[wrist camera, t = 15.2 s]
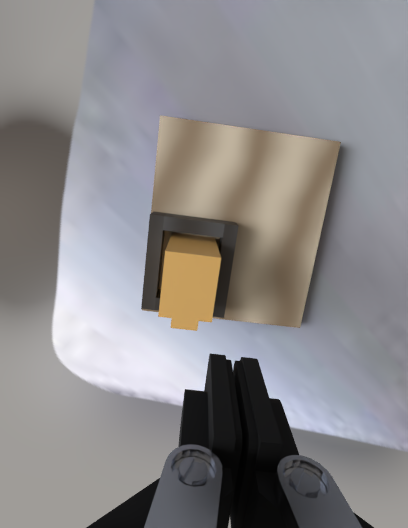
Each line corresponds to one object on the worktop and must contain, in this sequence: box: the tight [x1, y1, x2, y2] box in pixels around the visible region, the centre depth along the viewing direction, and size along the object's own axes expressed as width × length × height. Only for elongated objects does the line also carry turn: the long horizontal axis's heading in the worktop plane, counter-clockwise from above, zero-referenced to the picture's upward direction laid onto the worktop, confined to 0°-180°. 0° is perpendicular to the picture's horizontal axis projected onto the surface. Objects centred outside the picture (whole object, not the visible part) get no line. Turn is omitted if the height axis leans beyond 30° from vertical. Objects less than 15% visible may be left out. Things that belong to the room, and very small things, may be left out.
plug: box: [158, 233, 221, 331], centre depth 29 cm, size 4×6×8 cm
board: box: [141, 116, 341, 328], centre depth 31 cm, size 16×18×4 cm
